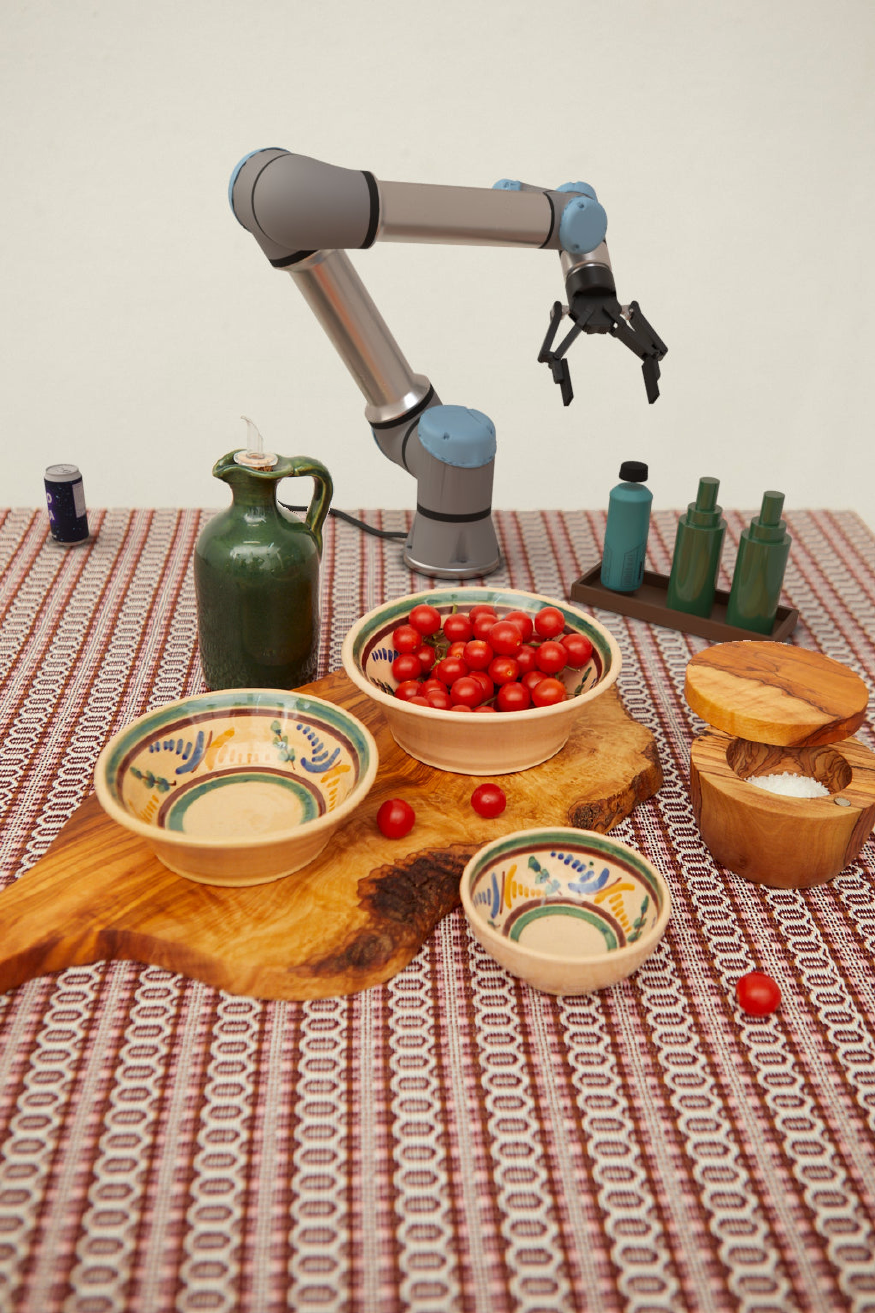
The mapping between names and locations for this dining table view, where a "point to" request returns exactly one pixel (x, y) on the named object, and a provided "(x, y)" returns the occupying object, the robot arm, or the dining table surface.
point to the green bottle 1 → (698, 553)
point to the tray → (652, 609)
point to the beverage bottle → (627, 529)
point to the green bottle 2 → (760, 569)
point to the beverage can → (66, 504)
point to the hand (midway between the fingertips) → (612, 400)
